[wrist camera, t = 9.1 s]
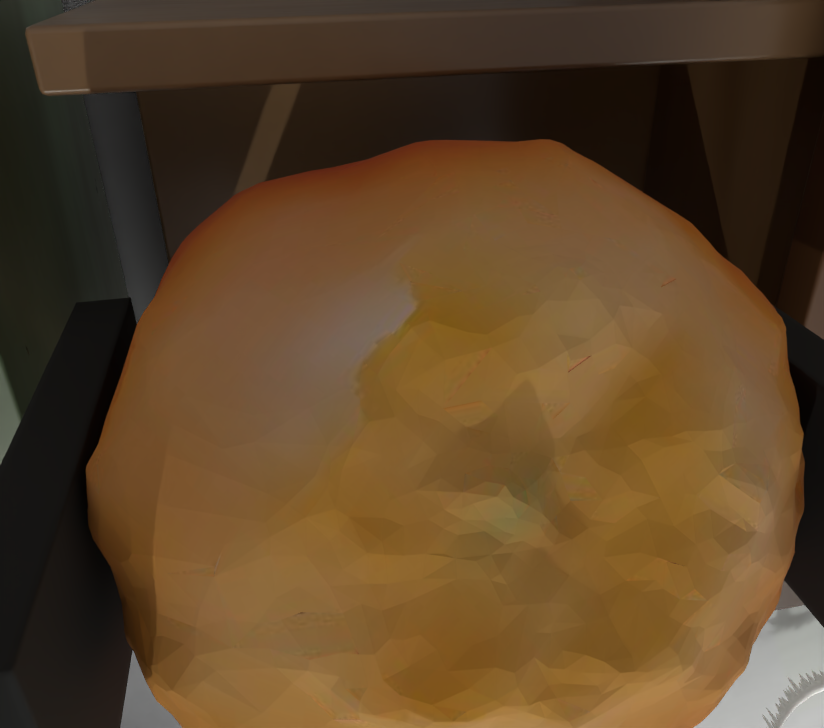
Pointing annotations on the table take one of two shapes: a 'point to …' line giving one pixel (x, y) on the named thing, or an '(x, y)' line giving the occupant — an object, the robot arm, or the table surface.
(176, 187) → the drawer
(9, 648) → the robot arm
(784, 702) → the white dragon
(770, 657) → the table surface
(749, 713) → the table surface
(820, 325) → the cabinet
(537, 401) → the fruit
